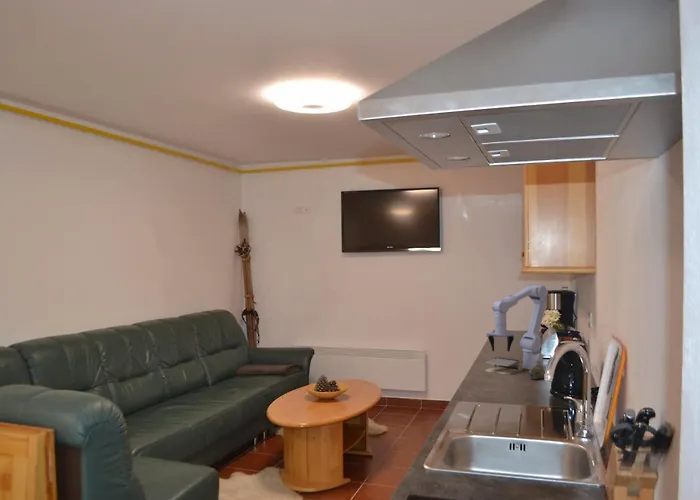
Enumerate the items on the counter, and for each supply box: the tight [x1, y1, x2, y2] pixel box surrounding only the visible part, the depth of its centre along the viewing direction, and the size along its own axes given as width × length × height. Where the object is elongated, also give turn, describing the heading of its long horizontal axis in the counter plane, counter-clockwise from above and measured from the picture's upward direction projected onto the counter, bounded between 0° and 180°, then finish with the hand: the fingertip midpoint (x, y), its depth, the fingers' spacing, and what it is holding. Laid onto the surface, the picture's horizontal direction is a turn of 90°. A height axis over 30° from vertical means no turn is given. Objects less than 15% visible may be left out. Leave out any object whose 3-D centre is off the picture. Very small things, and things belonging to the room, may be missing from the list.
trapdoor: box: [485, 355, 523, 369], centre depth 282 cm, size 12×18×4 cm
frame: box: [483, 355, 524, 376], centre depth 280 cm, size 16×12×6 cm
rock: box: [528, 360, 546, 380], centre depth 263 cm, size 11×6×10 cm
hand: (500, 351), depth 279 cm, fingers open, 7 cm apart
